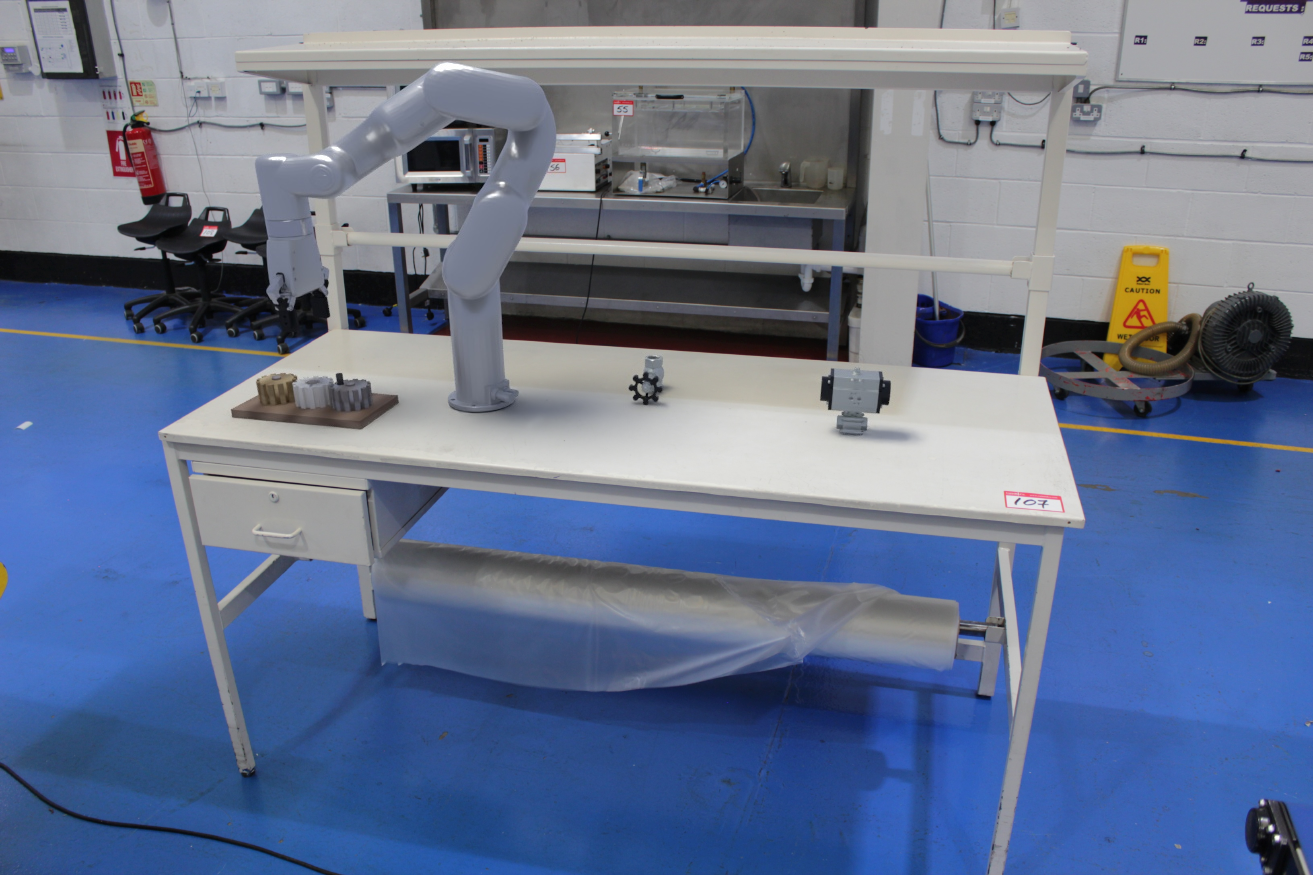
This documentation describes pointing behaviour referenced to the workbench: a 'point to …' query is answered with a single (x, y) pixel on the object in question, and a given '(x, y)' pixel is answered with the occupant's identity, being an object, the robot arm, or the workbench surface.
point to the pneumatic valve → (854, 396)
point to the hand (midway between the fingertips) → (307, 324)
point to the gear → (313, 392)
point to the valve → (649, 379)
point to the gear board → (347, 409)
